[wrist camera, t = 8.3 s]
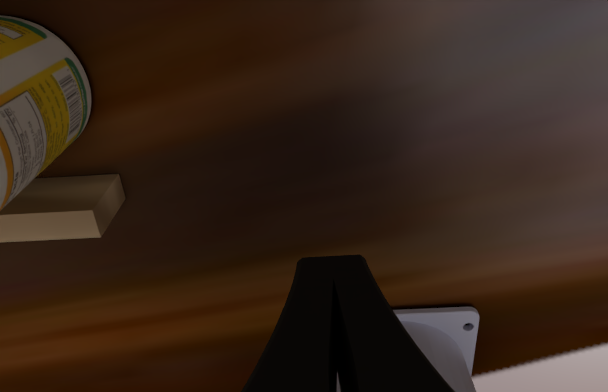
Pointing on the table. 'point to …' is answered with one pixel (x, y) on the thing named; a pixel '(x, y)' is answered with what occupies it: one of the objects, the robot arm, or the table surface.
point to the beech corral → (62, 208)
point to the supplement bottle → (36, 102)
